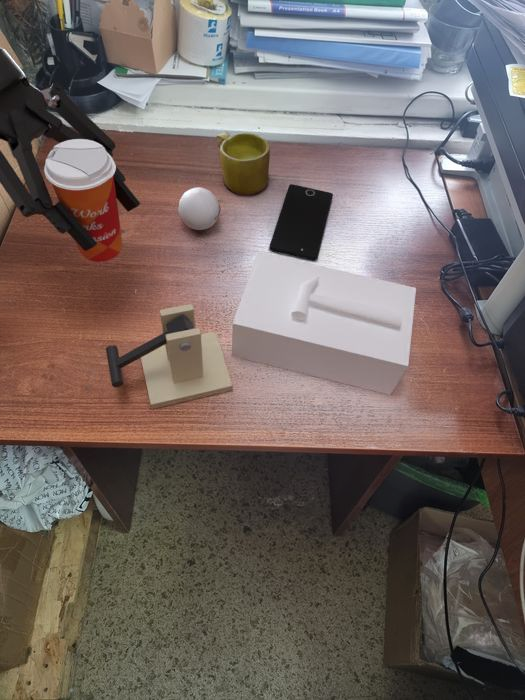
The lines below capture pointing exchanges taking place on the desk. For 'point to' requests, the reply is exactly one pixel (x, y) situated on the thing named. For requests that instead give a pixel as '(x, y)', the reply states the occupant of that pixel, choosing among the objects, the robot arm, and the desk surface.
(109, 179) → the coffee cup
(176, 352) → the lever base
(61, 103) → the robot arm
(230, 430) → the desk surface
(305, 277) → the hammer on box
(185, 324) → the black lever
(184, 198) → the white sphere
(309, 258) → the cell phone
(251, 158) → the mug
